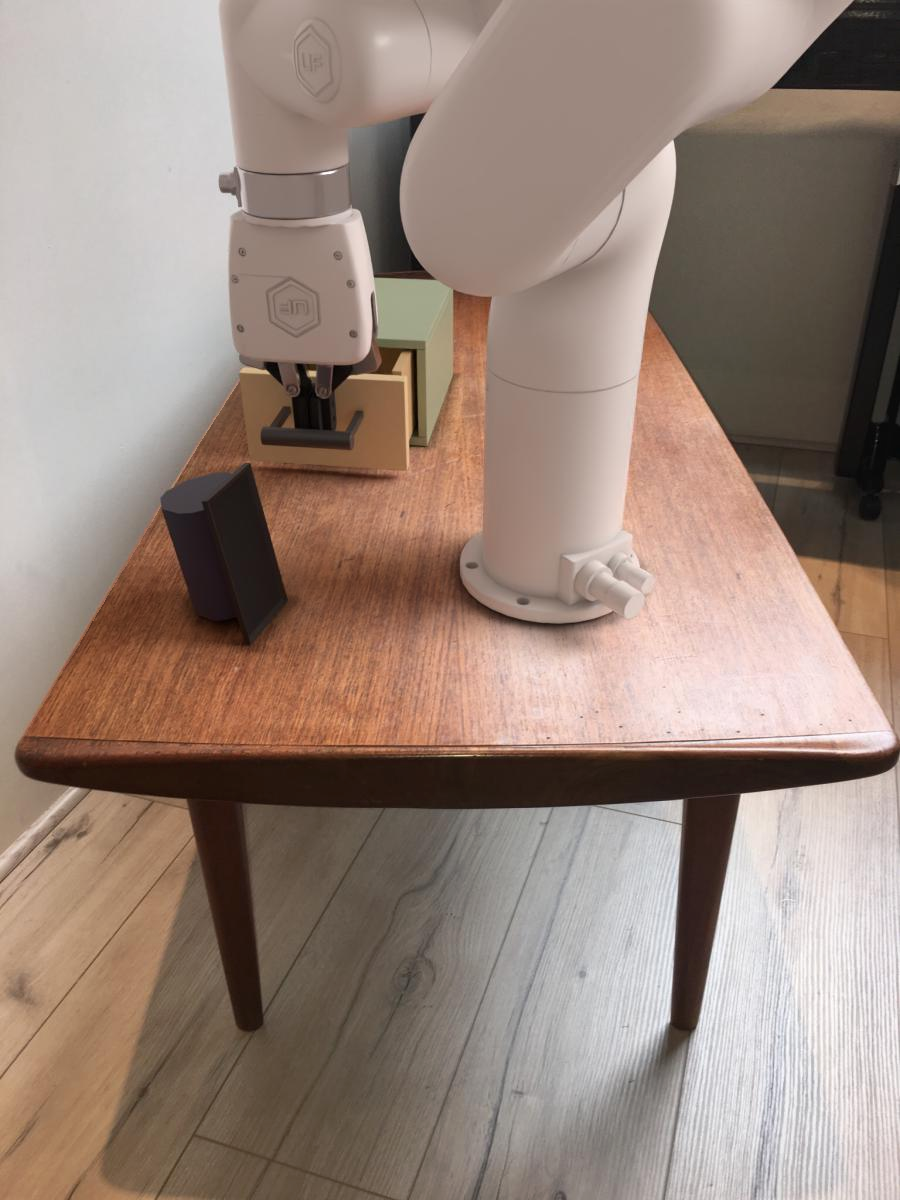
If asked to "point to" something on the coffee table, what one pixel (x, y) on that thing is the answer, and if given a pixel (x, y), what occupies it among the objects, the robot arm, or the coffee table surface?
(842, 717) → the coffee table surface
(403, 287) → the cabinet
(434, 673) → the coffee table surface
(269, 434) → the drawer
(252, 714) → the coffee table surface
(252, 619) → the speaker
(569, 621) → the robot arm
